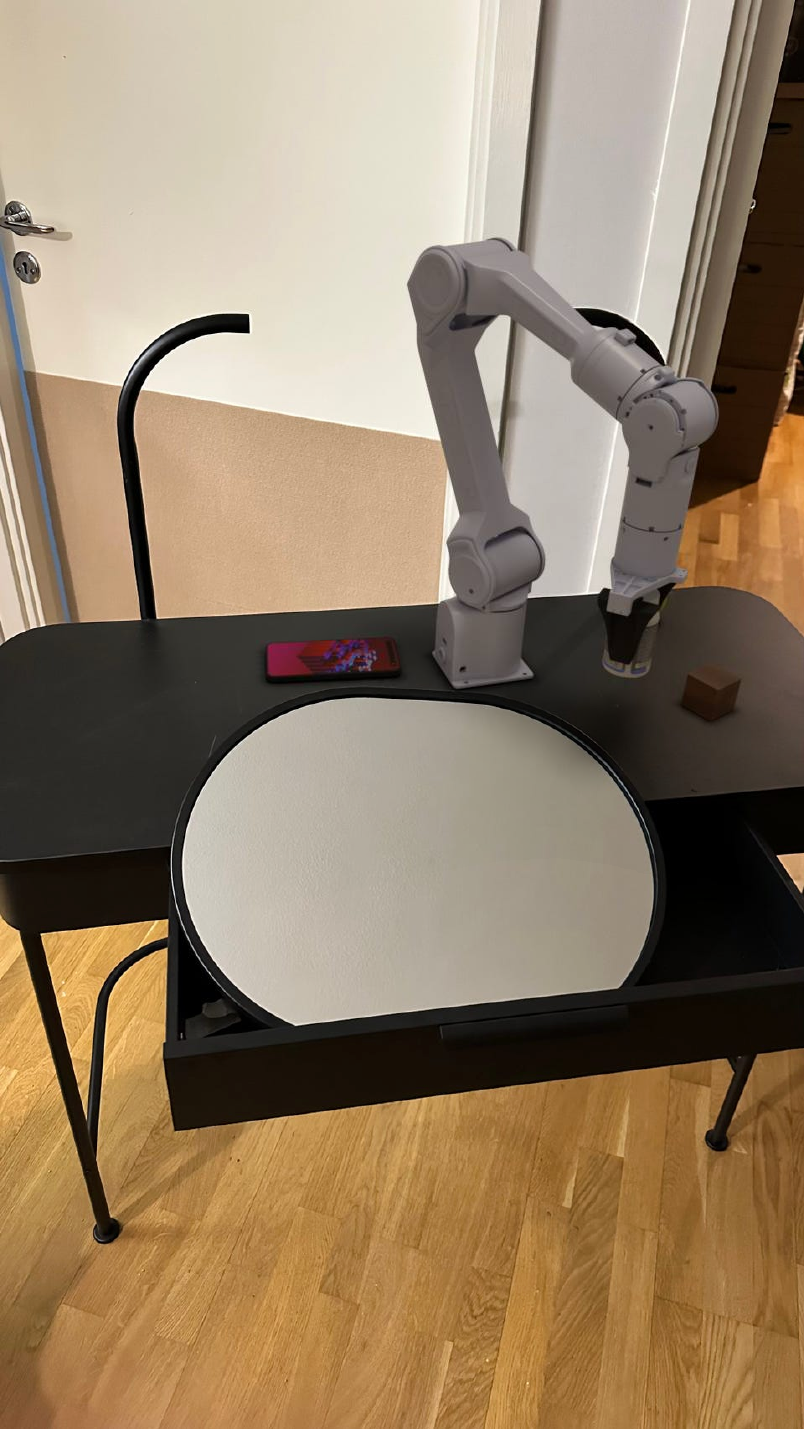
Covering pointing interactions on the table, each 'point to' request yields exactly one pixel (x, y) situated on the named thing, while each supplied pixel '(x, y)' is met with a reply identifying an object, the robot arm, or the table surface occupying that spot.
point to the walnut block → (711, 691)
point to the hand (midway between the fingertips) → (628, 649)
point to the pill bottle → (644, 651)
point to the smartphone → (332, 659)
